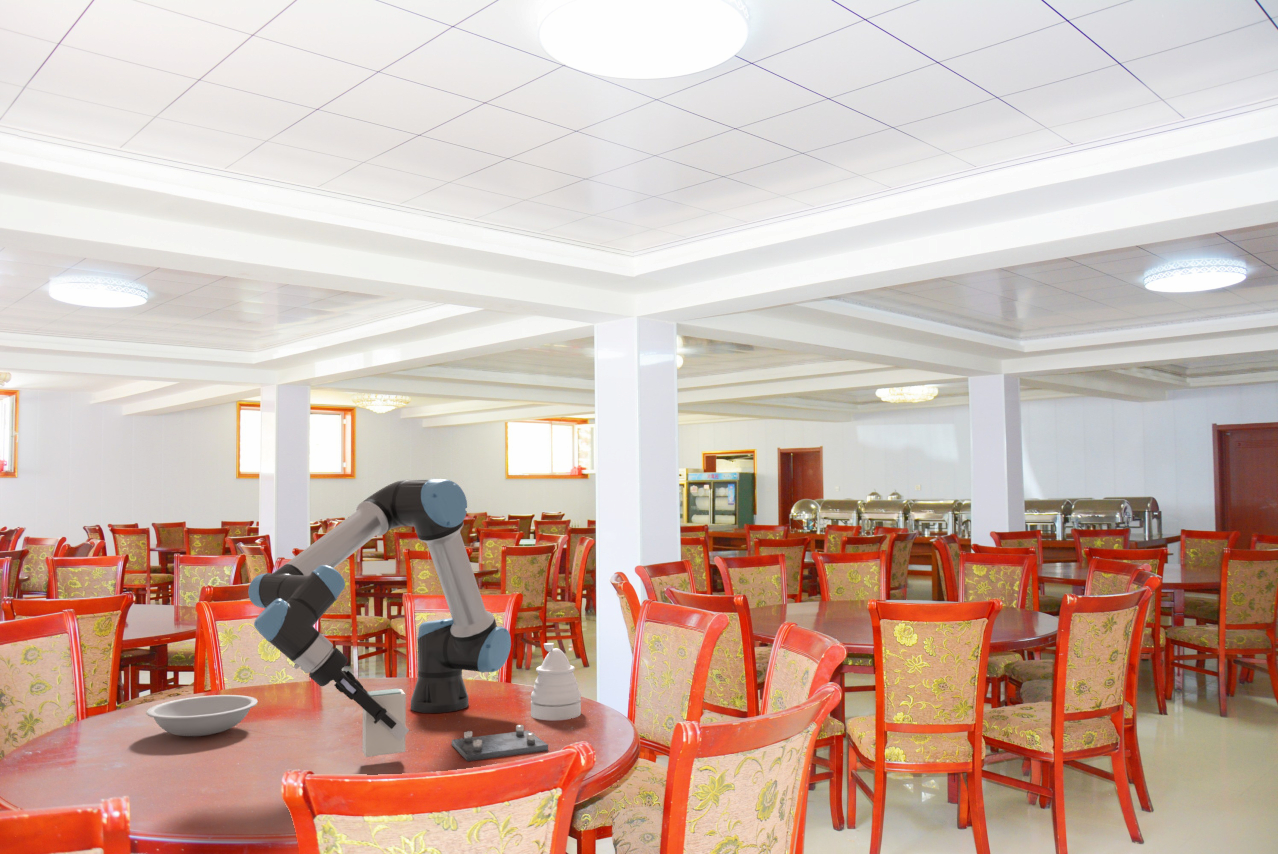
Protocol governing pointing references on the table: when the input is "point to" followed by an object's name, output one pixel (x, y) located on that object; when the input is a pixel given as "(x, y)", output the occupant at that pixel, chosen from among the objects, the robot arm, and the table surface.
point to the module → (377, 735)
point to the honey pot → (555, 688)
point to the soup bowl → (201, 714)
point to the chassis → (498, 744)
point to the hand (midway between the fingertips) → (401, 731)
